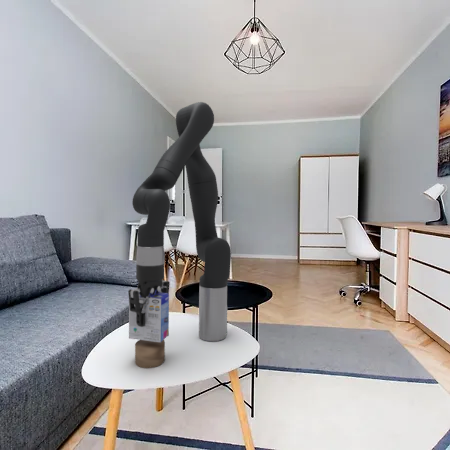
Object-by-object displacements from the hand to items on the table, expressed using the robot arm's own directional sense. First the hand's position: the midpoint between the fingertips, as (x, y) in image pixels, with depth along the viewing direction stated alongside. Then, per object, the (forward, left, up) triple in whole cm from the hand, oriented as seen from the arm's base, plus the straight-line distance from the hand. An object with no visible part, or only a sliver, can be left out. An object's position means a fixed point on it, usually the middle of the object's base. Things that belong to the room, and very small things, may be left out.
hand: (149, 321), depth 87 cm
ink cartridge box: (0, 0, -5) cm, 5 cm away
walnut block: (0, 0, -11) cm, 11 cm away
